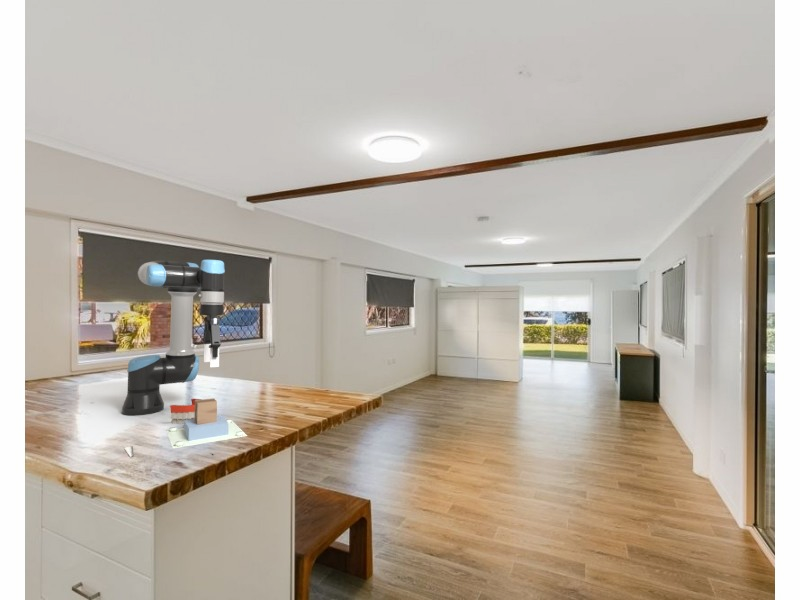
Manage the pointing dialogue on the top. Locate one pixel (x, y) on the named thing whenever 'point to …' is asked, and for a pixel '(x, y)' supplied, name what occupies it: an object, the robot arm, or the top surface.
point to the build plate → (180, 439)
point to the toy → (183, 412)
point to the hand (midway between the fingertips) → (210, 364)
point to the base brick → (205, 429)
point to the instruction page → (129, 451)
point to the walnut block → (205, 411)
